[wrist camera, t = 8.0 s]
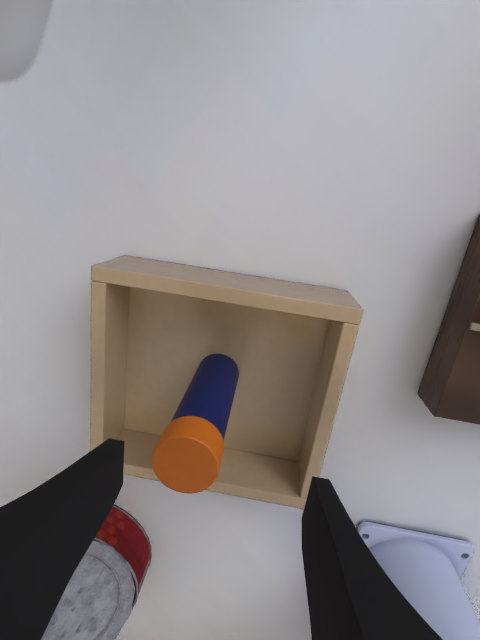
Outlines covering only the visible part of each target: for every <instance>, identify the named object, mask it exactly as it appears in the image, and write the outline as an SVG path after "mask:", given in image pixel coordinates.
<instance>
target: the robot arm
mask: <svg viewBox="0 0 480 640" xmlns="http://www.w3.org/2000/svg"><path fill="white" fill-rule="evenodd" d="M123 468H124V441H122V440H116V439H111V438H109V439H107V440H106V441H104V442H103V443H101V444H100V445H99V446H97V447H96V448H95V449H93V450H92V451H90V452H89V453H88V454H86V455H85V456H83V457H82V458H81V459H79V460H78V461H76V462H75V463H74V464H72V465H71V466H69V467H68V468H66V469H65V470H63V471H62V472H60V473H59V474H57V475H56V476H54V477H53V478H51V479H50V480H48V481H46V482H45V483H43V484H42V485H40V486H38V487H37V488H35V489H34V490H32V491H30V492H28V493H27V494H25V495H23V496H21V497H19V498H17V499H16V500H14V501H12V502H10V503H8V504H6V505H4V506H2V507H0V640H41V639H42V637H43V635H44V633H45V630H46V628H47V626H48V624H49V622H50V620H51V618H52V615H53V613H54V611H55V609H56V607H57V605H58V603H59V601H60V599H61V597H62V595H63V593H64V591H65V589H66V587H67V585H68V583H69V581H70V579H71V577H72V575H73V574H74V572H75V570H76V568H77V567H78V565H79V563H80V562H81V560H82V558H83V557H84V555H85V553H86V552H87V550H88V548H89V547H90V545H91V543H92V542H93V540H94V538H95V537H96V535H97V533H98V531H99V530H100V528H101V526H102V525H103V523H104V521H105V520H106V518H107V516H108V514H109V513H110V511H111V509H112V507H113V505H114V503H115V500H116V498H117V496H118V494H119V491H120V489H121V487H122V485H123ZM302 553H303V562H304V571H305V579H306V588H307V596H308V605H309V613H310V623H311V635H312V640H480V620H479V618H478V616H477V614H476V612H475V610H474V608H473V606H472V603H471V601H470V599H469V597H468V595H467V593H466V591H465V589H464V587H463V585H462V583H461V581H460V580H461V578H462V575H463V573H464V571H465V569H466V567H467V565H468V563H469V561H470V559H471V557H472V555H473V553H474V548H473V546H472V544H471V543H470V542H468V541H463V540H458V539H453V538H448V537H443V536H437V535H432V534H427V533H422V532H417V531H412V530H407V529H402V528H397V527H391V526H386V525H381V524H376V523H371V522H362V523H361V524H360V525H359V527H358V530H357V529H356V527H355V526H354V524H353V522H352V521H351V519H350V517H349V515H348V514H347V512H346V510H345V508H344V506H343V505H342V503H341V501H340V499H339V497H338V495H337V493H336V491H335V489H334V487H333V485H332V483H331V482H330V480H329V479H324V478H319V477H313V476H312V480H311V484H310V488H309V492H308V496H307V500H306V504H305V508H304V512H303V516H302Z"/></svg>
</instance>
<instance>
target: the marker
mask: <svg viewBox="0 0 480 640" xmlns="http://www.w3.org/2000/svg"><path fill="white" fill-rule="evenodd" d="M238 378H239V369H238V366H237V364H236V363H235V362H234V360H233V359H231V358H230V357H229V356H227V355H224V354H211V355H208V356H206V357H205V358H204V359H203V360H202V361H201V363H200V364H199V366H198V368H197V370H196V372H195V374H194V376H193V378H192V380H191V382H190V384H189V386H188V388H187V390H186V392H185V394H184V396H183V398H182V400H181V402H180V404H179V406H178V408H177V410H176V412H175V414H174V416H173V418H172V420H171V422H170V423H169V424H168V425H167V426H166V427H165V429H164V431H163V433H162V435H161V437H160V439H159V441H158V443H157V445H156V447H155V449H154V450H153V453H152V458H151V461H152V468H153V471H154V473H155V475H156V476H157V478H158V479H159V480H160V481H161V482H162V483H163V484H164V485H166V486H167V487H169V488H171V489H173V490H175V491H178V492H182V493H197V492H200V491H203V490H205V489H207V488H209V487H210V486H211V485H212V484H213V483H214V482H215V480H216V479H217V477H218V474H219V469H220V465H221V460H222V456H223V452H224V437H225V433H226V429H227V424H228V420H229V416H230V412H231V407H232V403H233V399H234V395H235V390H236V386H237V382H238Z"/></svg>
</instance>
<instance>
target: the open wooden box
mask: <svg viewBox="0 0 480 640" xmlns="http://www.w3.org/2000/svg"><path fill="white" fill-rule="evenodd" d="M91 280H92V282H91V450H90V451H92V450H93V449H95V448H96V447H97V446H99V445H100V444H101V443H103V442H104V441H106V440H107V439H109V438H111V439H116V440H122V441H124V468H123V474H126V475H131V476H136V477H142V478H147V479H152V480H157V481H160V480H159V479H158V478H157V476H156V475H155V473H154V471H153V468H152V461H151V458H152V453H153V450H154V449H155V447H156V445H157V443H158V441H159V439H160V437H161V435H162V433H163V431H164V429H165V427H166V426H167V425H168V424H169V423H170V422H171V420H172V418H173V416H174V414H175V412H176V410H177V408H178V406H179V404H180V402H181V400H182V398H183V396H184V394H185V392H186V390H187V388H188V386H189V384H190V382H191V380H192V378H193V376H194V374H195V372H196V370H197V368H198V366H199V364H200V363H201V361H202V360H203V359H204V358H205V357H206V356H208V355H211V354H224V355H227V356H229V357H230V358H231V359H233V360H234V362H235V363H236V364H237V366H238V369H239V378H238V382H237V386H236V390H235V395H234V399H233V403H232V407H231V412H230V416H229V420H228V424H227V429H226V433H225V437H224V452H223V456H222V460H221V465H220V469H219V474H218V477H217V479H216V480H215V482H214V483H213V484H212V485H211V486H210V487H209V488H207V489H205V490H208V491H213V492H218V493H223V494H228V495H234V496H239V497H244V498H249V499H254V500H259V501H264V502H269V503H274V504H280V505H285V506H290V507H295V508H300V509H304V508H305V504H306V500H307V496H308V492H309V488H310V484H311V480H312V476H313V477H319V476H320V472H321V468H322V464H323V461H324V457H325V453H326V449H327V445H328V442H329V438H330V434H331V430H332V427H333V423H334V419H335V415H336V412H337V408H338V404H339V400H340V396H341V393H342V389H343V385H344V381H345V378H346V374H347V370H348V366H349V363H350V359H351V355H352V351H353V347H354V344H355V340H356V336H357V332H358V329H359V324H360V322H361V318H362V314H363V309H362V308H361V306H360V305H359V304H358V303H357V301H356V300H355V299H354V298H353V297H352V295H351V294H350V293H349V292H348V291H345V290H339V289H333V288H326V287H320V286H314V285H308V284H301V283H295V282H289V281H283V280H276V279H270V278H264V277H258V276H251V275H245V274H239V273H233V272H226V271H220V270H214V269H208V268H201V267H195V266H189V265H183V264H176V263H170V262H164V261H157V260H151V259H145V258H139V257H132V256H126V255H124V256H120V257H117V258H114V259H111V260H108V261H104V262H101V263H98V264H95V265H92V266H91Z"/></svg>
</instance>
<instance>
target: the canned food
mask: <svg viewBox="0 0 480 640" xmlns="http://www.w3.org/2000/svg"><path fill="white" fill-rule="evenodd" d="M150 561H151V546H150V542H149V539H148V537H147V535H146V533H145V531H144V529H143V528H142V527H141V526H140V524H139V523H138V522H137V521H136V520H135V519H134V518H133V517H132V516H130V515H129V514H128V513H127V512H125V511H124V510H122V509H121V508H119V507H117V506H115V505H113V507H112V509H111V511H110V513H109V514H108V516H107V518H106V520H105V521H104V523H103V525H102V526H101V528H100V530H99V531H98V533H97V535H96V537H95V538H94V540H93V542H92V543H91V545H90V547H89V548H88V550H87V552H86V553H85V555H84V557H83V558H82V560H81V562H80V563H79V565H78V567H77V568H76V570H75V572H74V574H73V575H72V577H71V579H70V581H69V583H68V585H67V587H66V589H65V591H64V593H63V595H62V597H61V599H60V601H59V603H58V605H57V607H56V609H55V611H54V613H53V615H52V618H51V620H50V622H49V624H48V626H47V628H46V630H45V633H44V635H43V637H42V639H41V640H114V639H115V638H116V637H117V635H118V633H119V632H120V630H121V628H122V627H123V625H124V623H125V622H126V620H127V619H128V618H129V616H130V615H131V610H132V609H133V607H134V605H135V604H136V602H137V597H138V595H139V592H140V589H141V586H142V584H143V581H144V578H145V575H146V572H147V570H148V567H149V566H150Z"/></svg>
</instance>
